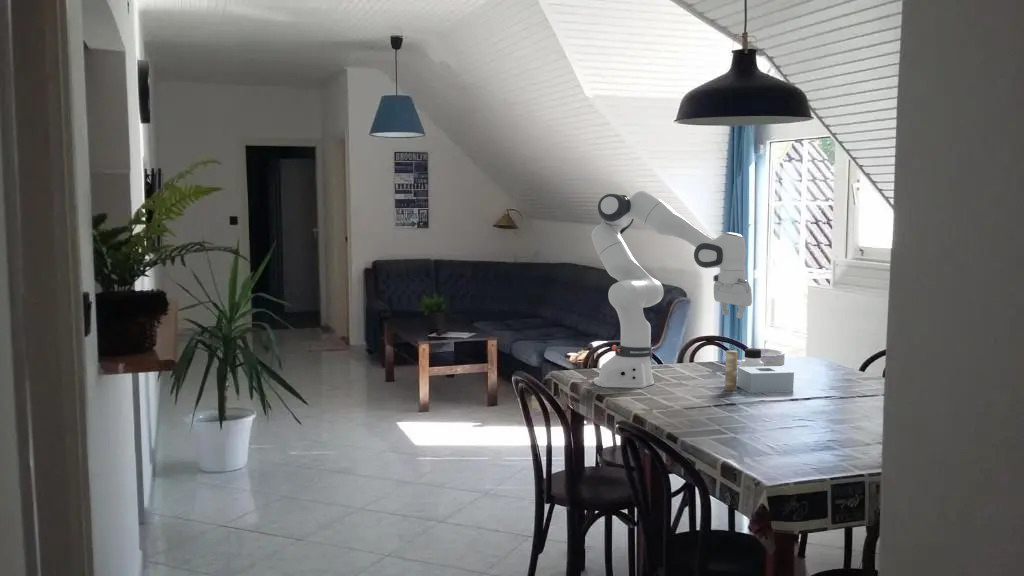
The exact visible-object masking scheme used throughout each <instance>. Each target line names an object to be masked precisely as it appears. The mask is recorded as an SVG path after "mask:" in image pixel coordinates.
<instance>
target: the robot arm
mask: <svg viewBox="0 0 1024 576" xmlns="http://www.w3.org/2000/svg"><path fill="white" fill-rule="evenodd" d="M597 211H598V212H597V213H598V215H599V217H600V218H601V219H602V220H601V222H600V224H599V225H597V226H595V227H594V228H593V229H592V232H591V241H592V244H593V246H594V248H595V251H596V253H597V255H598V257H599V259H600V261H601V263H602V265H603V266H604V268H605V270H606V272H607V273H608V274H609V276H610V277H612V278H613V279H615V280H617V282H615V283H614V284H612V285H611V286H610V287H609V289H608V295H607V296H608V301H609V303H610V305H611V306H612V307H613V308H614V310H615V311H616V313H617V316H618V320H619V325H620V344H619V345H618V346H617V345H616V344H613V345H612V346H611V349H612V351H614V353H615V355H614V356H612V357H611V358H610V359H608V360H607V361H605V362H604V363H602V365H601V367H600V370H599V375H598V377H597V376H596V377H594V378H593V384H595V385H596V386H597V387H598V386H599V387H602V388H631V389H632V388H635V389H636V388H637V389H638V388H639V389H643V388H646V387H648V386H652V385H654V384H655V381H654V376H653V371H652V363H651V362H652V357H653V348H652V344H651V343H652V342H651V339H652V337H651V335H652V334H651V333H652V327H651V324H650V322H649V321H648V320H647V318H646V317H645V314H644V308H649V307H652V306H655V305H657V304H658V303H660V302H661V300H662V299H663V298H664V293H665V292H664V290H665V289H664V287H663V285H662V283H661V282H660V281H659V280H657V279H656V278H655V277H652V276H651V275H650V274H649V273H648V272H646V270H645V269H644V268H643V267H642V266H641V265H640V264H639V263H638V262H637V260H636V258H635V257H634V256H633V254H632V253H631V251H630V249H629V247H628V246H627V244H626V242H625V240H624V239H623V237H622V234H624V232H625V231H626V230H627V229H629V228H630V227H631V226H632V225H633V223H634V220H637V221H639V222H640V223H642V224H643V225H644V226H645V227H647V228H648V229H649V230H651V231H652V232H654V233H656V234H658V235H661V236H668V237H675V238H677V239H681V240H683V241H685V242H687V243H688V244H690V245H691V246H693V247H694V252H693V259H694V261H695V263H696V264H697V265H698V266H699V267H701V268H702V269H703V268H704V269H715V268H719V272H718V273H716V274H715V275H713V277H712V280H713V282H714V283H713V298H714V299H713V300H714V301H715V302H719V303H720V307H721V311H722V312H721V313H722V315H723V316H728V315H730V311H729V310H730V309H729V310H728V305H734V306H737V309H738V310H737V312H736V313H735V315H736V316H735V317H736V318H737V319H742V318H744V313H745V309H746V307H751V306H752V304H753V296H752V288H751V285H750V283H749V281H748V280H747V279H746V273H747V272H746V271H747V270H746V265H745V264H746V263H745V262H746V257H747V254H746V253H747V251H746V250H747V249H746V248H747V247H746V240H745V237H744V236H743V235H742V234H740V233H736V232H729V231H727V232H723V233H721V234H720V235H719V236H717V237H715V238H714V237H712V236H710V235H708V234H707V233H705V232H703V231H702V230H701V229H700V228H698V227H697V226H695V225H694V224H692V223H690V222H689V221H688V220H687V219H685V217H683V216H682V215H680V214H679V213H678V212H677V211H675V209H673V208H672V207H671V206H670V205H668V204H667V203H665V202H664V201H663V200H662V199H660V198H658V197H657V196H655V195H653V194H652V193H650V192H647V191H645V190H639V191H637V192H635V193H634V194H633V195H632V196H631V197H629V196H628V195H626V194H617V193H607V194H605V195H603V196H602V197H601V198H600V199H599V200H598V203H597Z"/></svg>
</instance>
